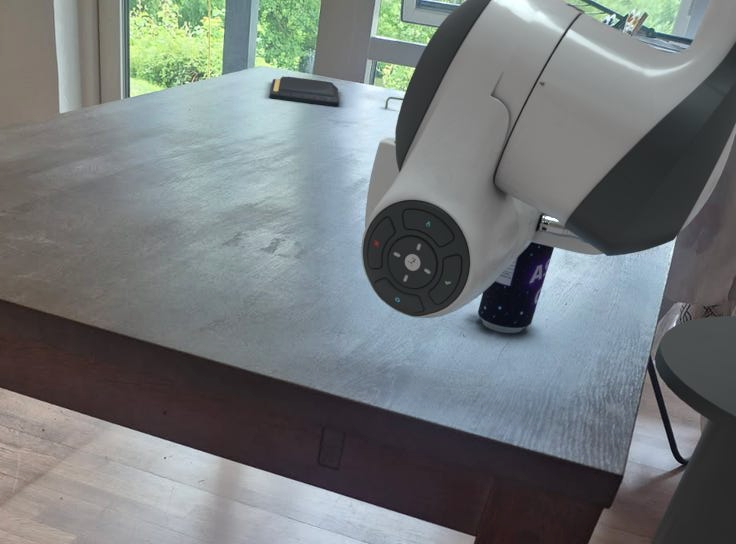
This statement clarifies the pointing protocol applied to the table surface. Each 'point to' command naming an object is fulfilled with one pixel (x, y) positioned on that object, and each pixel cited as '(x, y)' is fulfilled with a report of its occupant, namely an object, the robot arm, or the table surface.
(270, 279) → the table surface
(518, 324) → the beverage can
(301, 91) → the wallet
